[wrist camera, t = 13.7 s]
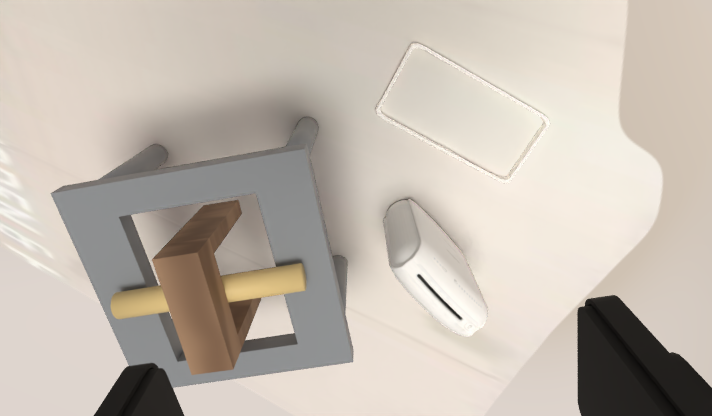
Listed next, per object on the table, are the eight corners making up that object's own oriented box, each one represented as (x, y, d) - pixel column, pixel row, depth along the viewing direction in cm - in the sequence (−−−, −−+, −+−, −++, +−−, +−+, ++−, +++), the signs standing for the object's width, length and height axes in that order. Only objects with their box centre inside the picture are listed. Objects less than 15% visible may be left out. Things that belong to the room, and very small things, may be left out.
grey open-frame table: (194, 298, 53) (130, 410, 38) (137, 142, 46) (32, 204, 31) (354, 273, 51) (352, 379, 36) (320, 109, 44) (301, 157, 30)
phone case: (548, 117, 45) (412, 39, 43) (553, 120, 44) (414, 40, 41) (503, 181, 48) (373, 111, 45) (507, 186, 46) (373, 114, 44)
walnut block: (230, 298, 43) (191, 375, 33) (203, 205, 40) (152, 259, 30) (263, 293, 43) (233, 369, 33) (238, 199, 40) (197, 252, 30)
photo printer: (470, 257, 50) (503, 328, 39) (439, 280, 52) (462, 356, 40) (408, 189, 48) (424, 246, 36) (376, 216, 49) (382, 278, 37)
